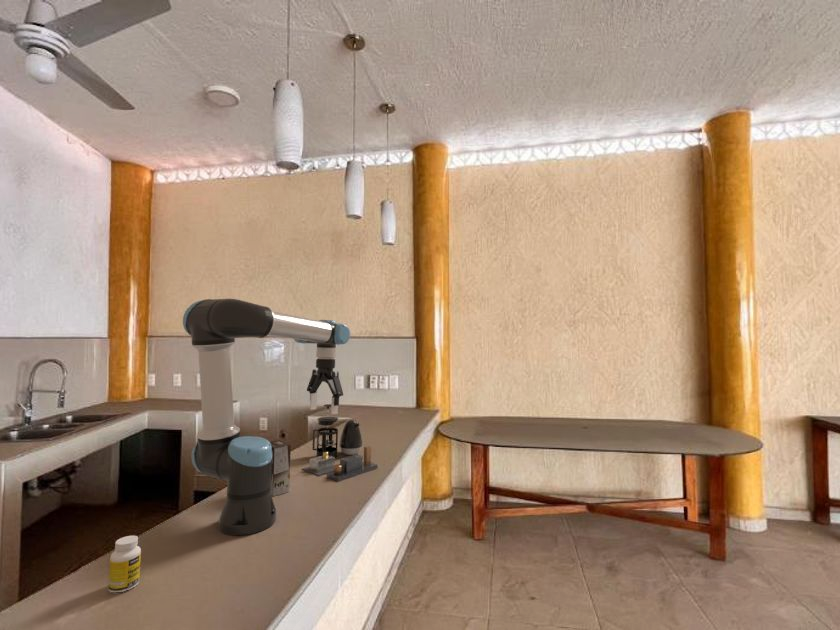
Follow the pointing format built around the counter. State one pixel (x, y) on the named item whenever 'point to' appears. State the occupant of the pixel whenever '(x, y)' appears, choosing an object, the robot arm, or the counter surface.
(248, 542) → the counter surface
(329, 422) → the french press
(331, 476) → the grey stand
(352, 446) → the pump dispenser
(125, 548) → the supplement bottle
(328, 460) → the white box with knob
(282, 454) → the coffee box
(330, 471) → the mat
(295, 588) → the counter surface
